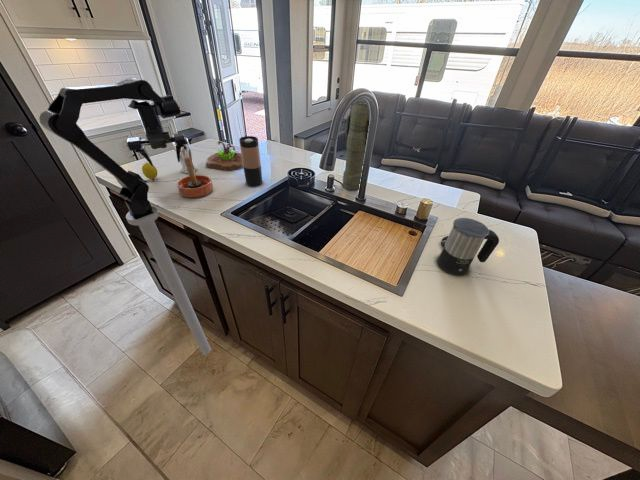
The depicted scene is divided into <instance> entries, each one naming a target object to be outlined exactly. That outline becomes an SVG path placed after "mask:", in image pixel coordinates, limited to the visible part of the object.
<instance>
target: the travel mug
mask: <svg viewBox="0 0 640 480" xmlns="http://www.w3.org/2000/svg"><path fill="white" fill-rule="evenodd" d="M238 141H239V147H240V153H241V155H242V162H243V168H242V169H243V174H244V179H245V183H246V186H248V187H250V188H255V187H261V186H262V185H263V176H262V175H263V174H262V163H261V153H260V145H259V138H258V137H256V136H253V135H246V136H245V135H244V136H242V137H240V138H239V140H238Z"/></svg>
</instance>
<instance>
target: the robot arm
mask: <svg viewBox="0 0 640 480" xmlns="http://www.w3.org/2000/svg"><path fill="white" fill-rule="evenodd" d="M123 99H124V100H130V103H129V104H128V108H130V109H133V110H136V112H137V113H138V116H139V119H140V121H141V125H142V127H143V130H144V133H145V137H146V139H141V138H140V136H139V137H138V136H136V137H128V138H127V140H126V145H127V148H128V150H129V151H130V152H131V151H134V152H135V153H139V154H140V155H142V156H143V158H145V160H146V161H147V163H150V164H151V166H153V165H154V164H153V161H152V159H151V157H150V154H149V153H148V151H147V149H146V146H150V148H151V149H152V150H157V149H166V148H167V147H168V145H167V144H169V143H173V142H174V144H175V150H176V153H175V155H176V159H177V162H178V163H180V150H181V147H184V145H185V144H187V140H186V138H187V137H186V135H185V134H184V133H183V132H178V133H172V136H171V135H170V133H169V131H164V128H163V125H162V122H161V119H160V117H161V118H162V119H169V118H174V117H179V116H180V115H181V108H180V105H179V104H178V102H177V101H176V100H175V99H174V96H173V95H170V94H167V95H163V96H160V95H159V94H158V93H157V92H156V91H155V90H154V88H153V87H152V85H151V84H150V83H149V82H148V81H147V80H145V79H140V78H136V77H129V78H126V79H123V80H120V81H118V82H115V83H111V84H100V85H99V84H98V85H87V86H86V85H85V86H77V87H68V86H66V87H64V86H63V87H61V88H60V90H59V92H58V94H57V95H56V97H55V98H54V100H53V101H52V102H51V103H50V104H49V105H48V107H47V110H45V111H43V112H41V113H40V115H39V119H38V120H39V123H40V125H41V126H42V128H44V129H45V130H47V131H48V132H50V133H52V134H54V135H56V136H57V137H59V138H60V139H62V140H64V141H66V142H67V143H70V144H72V145H73V146H75V148H77V149H78V150H79V151H81V152H82V153H83V154H85V155H86V156H87V157H88V158H90V159H91V160H92V161H93V162H95V163H96V164H97V165H99V166H100V167H101V168H103V170H105V171H106V172H107V173H108V174H111V176H113V177H114V179H115V180H116V182H117V183H118V184H119V185H120V186H121V189H120V191H119V192H118V196H119V197H120V198H122V199H124V203H125V206H126V207H127V209H128V212H129V211H130V212H129V214H130V215H131V216H132V217H134V218H135V219H139V218H142V217H145V216H148V215H150V214H153V213H154V212H153V211H152V207H153V206H152V205H151V202H150V200H149V199H148V198H149V196H148V193H149V190H150V186H149V184H148V181H147V180H145V179H143V177H141V175H140V174H138V173H137V172H135V171H133V170H130V169H129V170H128V171H126V169H124V168H123V167H122V166H121V165H120V164H119V163H117V162H116V161H115V160H114V159H113V158H111V157H110V156H109V155H108V154H107V153H106V152H104V151H103V150H102V149H101V148H100V147H98V146H97V145H96V144H95V143H93V141H91V140H90V139H89V137H88V136H87V135H86V134H85V132H84V131H83V129H82V128H81V127H80V126H79V124H77V123H78V121H79V118H80V114H81V108H82V107H83V105H84V104H90V103H92V104H93V103H101V102H109V101H115V100H123ZM149 101H150V102H149ZM175 150H174V151H175ZM151 206H152V207H151Z"/></svg>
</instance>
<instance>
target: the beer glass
mask: <svg viewBox="0 0 640 480" xmlns="http://www.w3.org/2000/svg"><path fill="white" fill-rule="evenodd" d="M186 140H187V144H185V145H184V147H181V150H180V162H179V164H180V166H181V171H182V173H184V174H189V173H188V170H187V166H186V163H185V160H184V157H190V159H191V162H192V166H193V169H194V173H195V172H196V171H197V170H196V167H195V165H194V161H193V152H192V148H191V143H190V142H189V139H188V137H186ZM172 146H173V150H174V153H175V154H176V150H175V144H174V142H172Z"/></svg>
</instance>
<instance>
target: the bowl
mask: <svg viewBox="0 0 640 480" xmlns="http://www.w3.org/2000/svg"><path fill="white" fill-rule="evenodd" d="M195 176H196V180H197V181H200V182H201V185H202V187H198V188H190V189H189V186H188V183H189V182H191V180H190V176H189V175H187V176H184V177H182V178H180V179H178V181H177V182H176V187H177V190H178V192H179V195H181V196H182V197H186V198H190V199H197V198H201V197H205V196H207V195H209V194H210V193H211V192H212V191H213V189H214V186H213V182H212V179H211V177H209V176H208V175H204V174H195Z"/></svg>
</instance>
